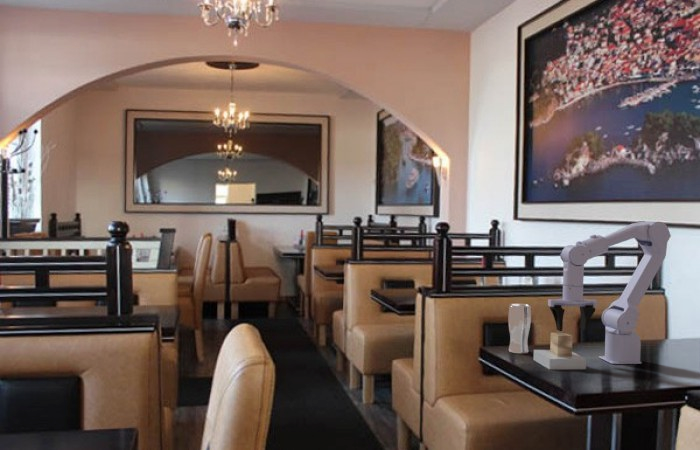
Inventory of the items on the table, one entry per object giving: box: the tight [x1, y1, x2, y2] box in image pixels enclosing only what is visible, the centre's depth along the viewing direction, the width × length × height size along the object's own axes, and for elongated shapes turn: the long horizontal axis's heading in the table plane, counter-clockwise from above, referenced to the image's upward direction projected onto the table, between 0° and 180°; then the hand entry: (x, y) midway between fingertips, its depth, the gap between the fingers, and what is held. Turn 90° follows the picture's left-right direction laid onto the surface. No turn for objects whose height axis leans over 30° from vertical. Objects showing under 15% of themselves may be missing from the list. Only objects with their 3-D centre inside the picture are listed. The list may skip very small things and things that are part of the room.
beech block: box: [549, 332, 574, 356], centre depth 179 cm, size 4×4×6 cm
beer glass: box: [507, 302, 532, 355], centre depth 194 cm, size 7×7×15 cm
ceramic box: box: [533, 349, 587, 370], centre depth 179 cm, size 11×11×4 cm
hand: (571, 330), depth 183 cm, fingers open, 7 cm apart
